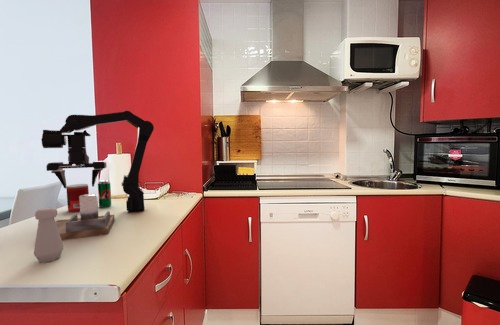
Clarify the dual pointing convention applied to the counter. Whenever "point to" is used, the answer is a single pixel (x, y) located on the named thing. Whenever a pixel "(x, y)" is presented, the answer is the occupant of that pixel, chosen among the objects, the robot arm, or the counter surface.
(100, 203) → the soda can
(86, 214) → the canister
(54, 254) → the salt shaker
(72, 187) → the canned food
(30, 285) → the counter surface
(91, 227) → the dock
